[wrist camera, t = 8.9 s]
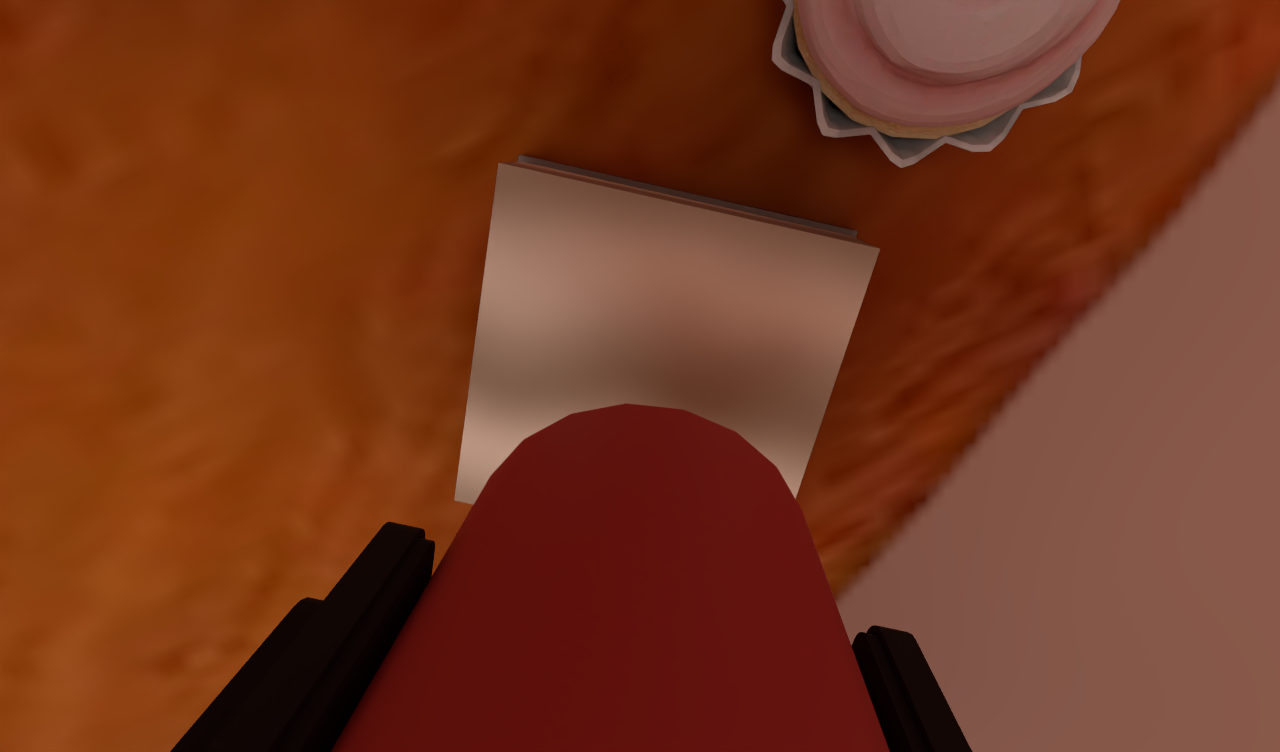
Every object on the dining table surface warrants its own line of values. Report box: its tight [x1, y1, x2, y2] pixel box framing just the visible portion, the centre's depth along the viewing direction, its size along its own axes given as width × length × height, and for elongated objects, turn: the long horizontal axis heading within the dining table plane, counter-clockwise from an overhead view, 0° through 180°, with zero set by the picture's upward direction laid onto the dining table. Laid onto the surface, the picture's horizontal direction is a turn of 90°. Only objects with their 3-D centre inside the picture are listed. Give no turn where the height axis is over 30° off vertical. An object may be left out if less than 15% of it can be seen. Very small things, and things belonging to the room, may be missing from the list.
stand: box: [454, 155, 880, 504], centre depth 23 cm, size 12×12×4 cm
